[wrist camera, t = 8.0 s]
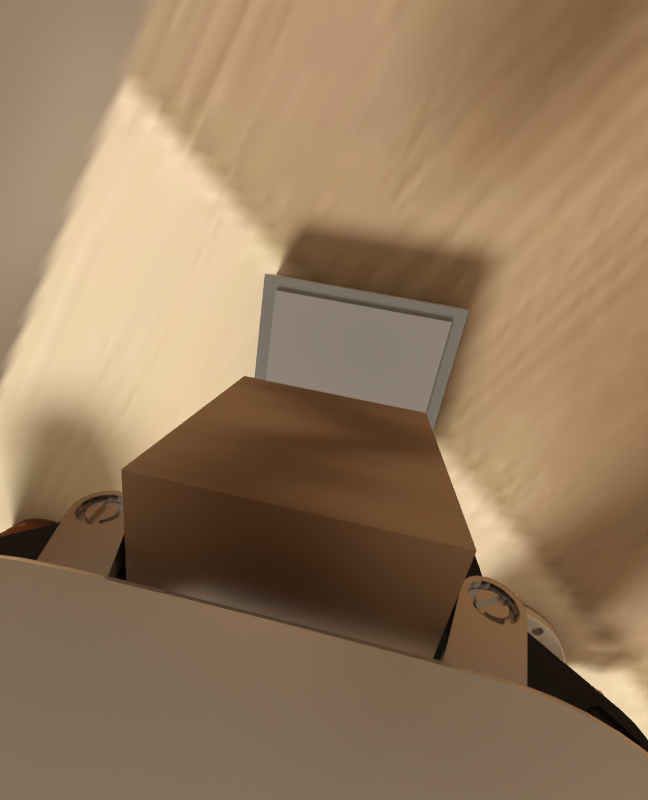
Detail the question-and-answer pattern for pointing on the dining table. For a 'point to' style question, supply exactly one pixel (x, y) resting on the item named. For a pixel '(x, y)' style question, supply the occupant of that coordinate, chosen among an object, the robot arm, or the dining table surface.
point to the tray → (358, 343)
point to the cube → (303, 514)
